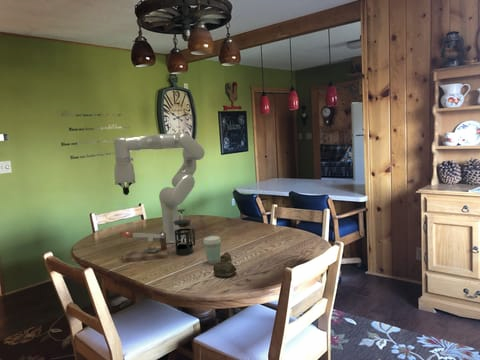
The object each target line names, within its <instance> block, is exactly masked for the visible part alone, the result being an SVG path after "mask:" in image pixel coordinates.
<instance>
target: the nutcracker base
mask: <svg viewBox="0 0 480 360" xmlns="http://www.w3.org/2000/svg"><path fill="white" fill-rule="evenodd" d="M162 233H164V232H159V234H162ZM164 234H165V238H164V239H161V238H159V242H160V247H158V248H157V247H156V246H155V244H153V243H151V244H149V245H148V247H147V248H146V249H137V250H129V251H125V252H124V255H123V257H122V263H134V262H143V261H152V260H161V259H168V258H169V247H168V245H167V244H168V243H166V232H165V233H164Z"/></svg>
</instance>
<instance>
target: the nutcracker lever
mask: <svg viewBox="0 0 480 360" xmlns="http://www.w3.org/2000/svg"><path fill="white" fill-rule="evenodd" d="M119 233H120V234H119V237H120V238H129V239H130V238H131V239H133V238H147V242H154V239H160V238H161V239H164V238H165V234H164V232H161V233H162V234H160V233H143V232H133V231H120V232H119Z"/></svg>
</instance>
